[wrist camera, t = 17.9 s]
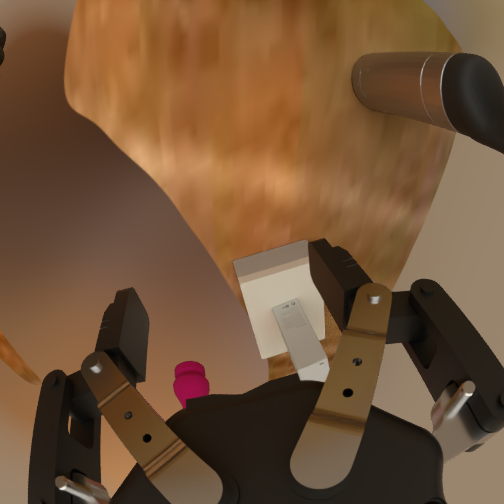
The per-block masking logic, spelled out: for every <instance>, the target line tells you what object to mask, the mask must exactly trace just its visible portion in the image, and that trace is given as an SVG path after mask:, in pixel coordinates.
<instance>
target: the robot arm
mask: <svg viewBox="0 0 504 504" xmlns="http://www.w3.org/2000/svg"><path fill="white" fill-rule="evenodd" d="M352 84H353V88H354V91H355V93H356V96H357V97H358V99H359V100H360V101H361V102H362V103H363V104H364V105H365V106H366V107H368V108H369V109H372V110H375V111H380V112H385V113H389V114H393V115H397V116H401V117H405V118H409V119H413V120H417V121H421V122H424V123H428V124H431V125H435V126H438V127H441V128H445V129H448V130H451V131H454V132H457V133H461V134H463V135H466V136H469V137H471V138H472V139H474V140H475V141H477V142H479V143H481V144H483V145H486V146H488V147H490V148H493V149H495V150H497V151H499V152H501V153H503V154H504V86H503V84H502V81H501V79H500V77H499V75H498V73H497V71H496V70H495V68H494V67H493V66H492V65H491V63H490V62H488V61H487V60H486V59H485V58H483V57H481V56H478V55H475V54H467V53H451V52H386V53H371V54H367V55H364V56H363V57H361V58H360V59H359V60H358V61H357V63H356V64H355V66H354V69H353V73H352ZM308 255H309V268H310V275H311V278H312V281H313V283H314V285H315V287H316V288H317V290H318V292H319V294H320V295H321V297H322V299H323V301H324V302H325V304H326V306H327V308H328V309H329V311H330V313H331V315H332V316H333V318H334V320H335V322H336V323H337V325H338V327H339V329H340V331H341V332H342V335H341V338H340V341H339V344H338V347H337V350H336V353H335V356H334V359H333V362H332V364H331V367H330V370H329V373H328V375H327V378H326V381H325V382H321V381H314V380H300V378H299V375H298V373H295V374H292V375H289V376H285V377H282V378H278V379H274V380H271V381H268V382H266V383H265V384H263V385H261V386H259V387H257V388H255V389H253V390H250V391H248V392H247V393H244V394H237V395H228V394H226V395H225V394H211V395H206V396H201V397H196V398H190V399H186V408H184V409H182V410H180V411H178V412H177V413H175V414H174V415H172V416H171V417H170V418H169V419H168V420H167V421H166V422H165V421H164V420H163V419H162V418H161V416H160V415H159V414H158V413H157V412H156V411H155V410H154V409H153V408H152V407H151V406H150V404H149V403H147V401H146V400H145V399H144V398H143V397H142V395H141V394H140V393H139V392H138V391H137V390H136V383H139V382H145V377H146V376H145V375H146V360H147V359H146V358H147V346H148V334H149V317H148V314H147V312H146V310H145V308H144V306H143V304H142V302H141V300H140V299H139V297H138V295H137V293H136V291H135V289H134V288H133V287H132V288H127V289H123V290H119V291H117V293H116V296H115V300H114V303H112V304H110V305H109V306H108V308H107V309H106V311H105V312H104V316H103V319H102V323H101V327H100V328H101V329H100V331H99V335H98V339H97V343H96V348H95V352H93V353H91V354H90V355H88V356H87V357H86V358H85V360H84V361H83V363H82V365H81V370H79V371H77V372H75V373H73V374H71V375H68V376H67V375H66V374H65V373H64V372H63V371H62V370H54V371H52V372H50V373H49V374H48V375H47V376H46V377H45V378H44V380H43V383H42V387H41V391H40V396H39V401H38V406H37V412H36V418H35V424H34V430H33V437H32V445H31V454H30V465H29V481H28V504H447V503H446V500H445V497H444V493H443V486H442V473H443V464H444V463H446V462H448V461H450V460H451V459H453V458H455V457H456V456H458V455H460V454H461V453H463V452H464V451H465V452H471V451H474V450H476V449H477V448H479V447H480V446H481V445H483V444H484V443H485V442H486V441H488V440H489V439H490V438H491V437H493V435H495V434H496V433H497V432H499V431H500V430H501V429H502V428H503V427H504V368H503V366H502V365H501V363H500V362H499V360H498V359H497V358H496V356H495V355H494V353H493V352H492V350H491V349H490V348H489V346H488V345H487V343H486V342H485V341H484V340H483V338H482V337H481V335H480V334H479V333H478V331H477V330H476V329H475V327H474V326H473V325H472V324H471V322H470V321H469V320H468V319H467V317H466V316H465V315H464V313H463V312H462V311H461V310H460V308H459V307H458V306H457V305H456V304H455V302H454V301H453V300H452V299H451V298H450V297H449V295H448V294H447V293H446V292H445V291H444V290H443V288H442V287H441V286H440V285H439V284H438V283H437V282H435V281H433V280H429V279H419V280H417V281H415V282H414V283H413V284H412V285H411V289H410V291H400V292H391V291H390V290H389V288H387V287H386V286H384V285H382V284H379V283H373V281H372V280H371V279H370V278H369V276H368V275H367V274H366V273H365V272H364V270H363V269H362V268H361V267H360V266H359V264H357V262H356V261H355V260H354V259H353V257H352V256H351V255H350V254H349V253H348V251H346V250H344V249H343V248H341V247H339V246H336V247H333V248H332V247H331V245H330V244H329V243H328V242H327V240H326V239H325V238H323V239H319V240H316V241H312V242H309V243H308ZM392 343H402V344H403V346H404V347H405V349H406V351H407V353H408V354H409V356H410V358H411V359H412V361H413V363H414V365H415V366H416V368H417V370H418V372H419V373H420V375H421V377H422V379H423V381H424V382H425V384H426V386H427V388H428V390H429V392H430V393H431V395H432V397H433V399H434V401H435V404H434V406H433V407H432V410H431V420H432V423H433V432H432V433H430V432H429V431H427V430H426V429H424V428H422V427H420V426H417V425H415V424H413V423H410V422H408V421H406V420H404V419H401V418H399V417H397V416H395V415H392V414H390V413H388V412H386V411H384V410H382V409H380V408H377V407H375V406H373V405H371V404H372V400H373V396H374V392H375V388H376V384H377V380H378V376H379V371H380V367H381V362H382V357H383V353H384V347H385V344H392ZM101 415H103V416H104V417H105V419H106V420H107V422H108V423H109V425H110V426H111V428H112V429H113V430H114V432H115V433H116V435H117V436H118V437H119V439H120V440H121V442H122V443H123V444H124V445H125V447H126V448H127V449H128V451H129V452H130V453H131V455H132V456H133V457H134V459H135V460H136V461H137V463H136V465H135V466H134V467H133V469H132V470H131V472H130V473H129V474H128V476H127V477H126V479H125V480H124V481H123V483H122V484H121V486H120V487H119V488H118V490H117V491H116V493H115V494H114V495H113V497H112V498H110V497H109V495H108V492H107V490H106V488H105V487H104V486H103V485H101V467H100V433H101ZM69 416H71V427H70V434H69V432H68V420H69Z"/></svg>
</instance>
